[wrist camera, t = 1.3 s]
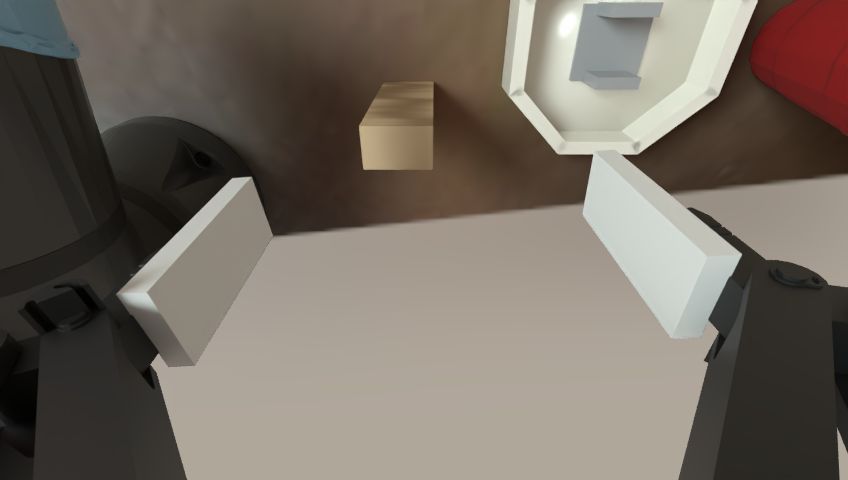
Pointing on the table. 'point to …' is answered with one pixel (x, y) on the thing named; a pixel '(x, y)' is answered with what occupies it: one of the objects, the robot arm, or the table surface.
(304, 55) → the table surface
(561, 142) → the white octagonal tray
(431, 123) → the long cardboard-colored beam
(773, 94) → the table surface
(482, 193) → the table surface
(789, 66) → the plastic cup
